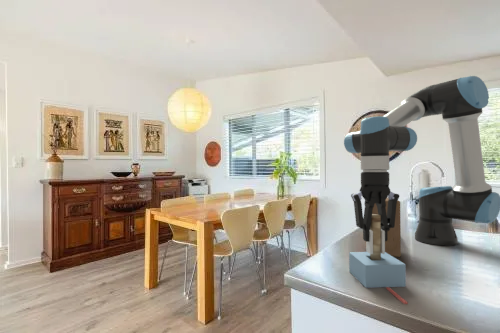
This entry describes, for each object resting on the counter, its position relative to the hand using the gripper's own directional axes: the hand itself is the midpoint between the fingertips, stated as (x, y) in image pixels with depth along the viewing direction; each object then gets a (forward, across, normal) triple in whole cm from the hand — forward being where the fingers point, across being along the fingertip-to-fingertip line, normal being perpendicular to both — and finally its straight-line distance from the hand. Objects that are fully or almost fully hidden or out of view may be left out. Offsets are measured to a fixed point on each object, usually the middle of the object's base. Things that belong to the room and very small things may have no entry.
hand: (375, 252), depth 79 cm
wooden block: (+8, -14, -23) cm, 28 cm away
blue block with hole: (+8, 0, 0) cm, 8 cm away
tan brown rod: (+5, 0, 0) cm, 5 cm away
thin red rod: (+8, 0, +10) cm, 13 cm away
